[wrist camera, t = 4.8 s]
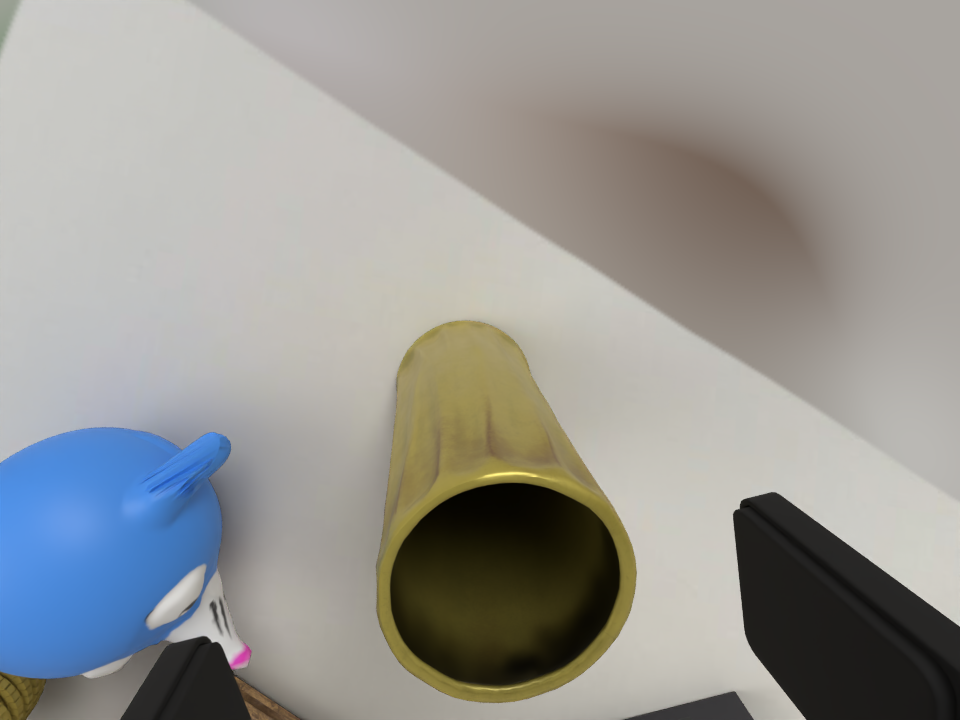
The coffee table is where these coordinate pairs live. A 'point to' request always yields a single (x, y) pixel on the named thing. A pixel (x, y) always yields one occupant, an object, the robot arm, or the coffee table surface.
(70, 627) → the blue mole toy
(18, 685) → the sculpture
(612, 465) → the coffee table surface
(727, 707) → the scale
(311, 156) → the coffee table surface
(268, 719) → the picture frame
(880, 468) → the coffee table surface
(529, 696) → the vase
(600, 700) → the coffee table surface
